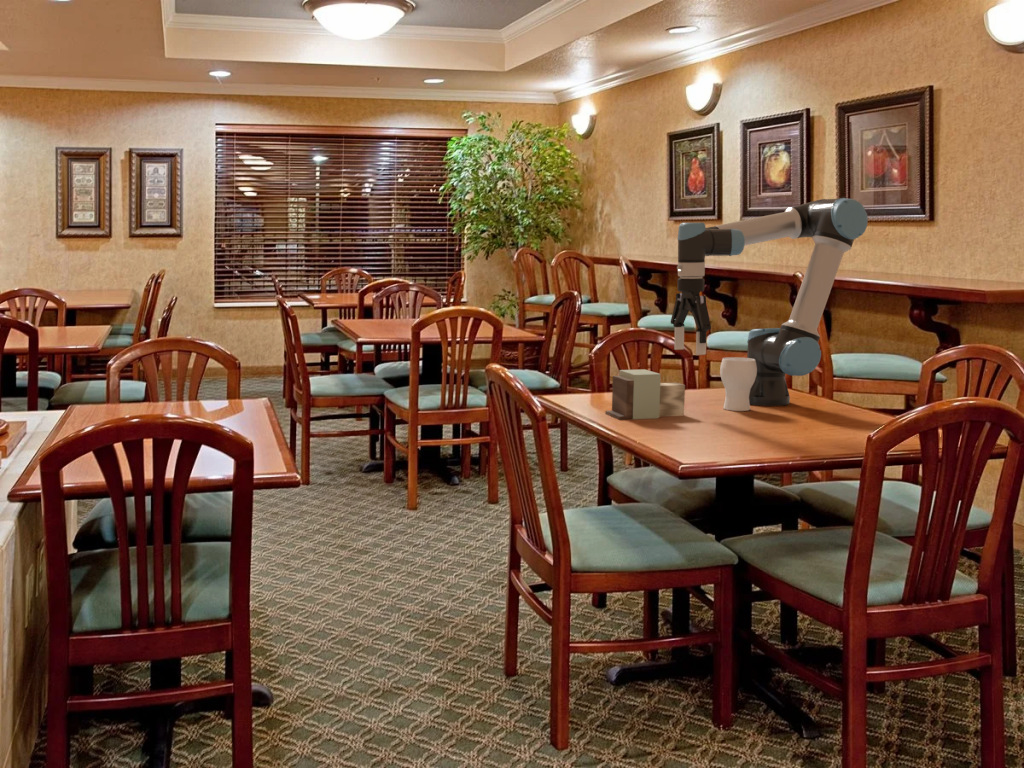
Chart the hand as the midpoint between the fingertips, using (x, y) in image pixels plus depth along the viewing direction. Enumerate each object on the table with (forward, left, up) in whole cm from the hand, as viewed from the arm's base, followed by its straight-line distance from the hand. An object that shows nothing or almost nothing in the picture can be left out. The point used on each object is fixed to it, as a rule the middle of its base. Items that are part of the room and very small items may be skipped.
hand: (689, 352), depth 304 cm
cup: (-19, -4, -18) cm, 26 cm away
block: (+15, 0, -18) cm, 24 cm away
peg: (+9, 0, -18) cm, 20 cm away
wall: (+20, 0, -18) cm, 27 cm away
